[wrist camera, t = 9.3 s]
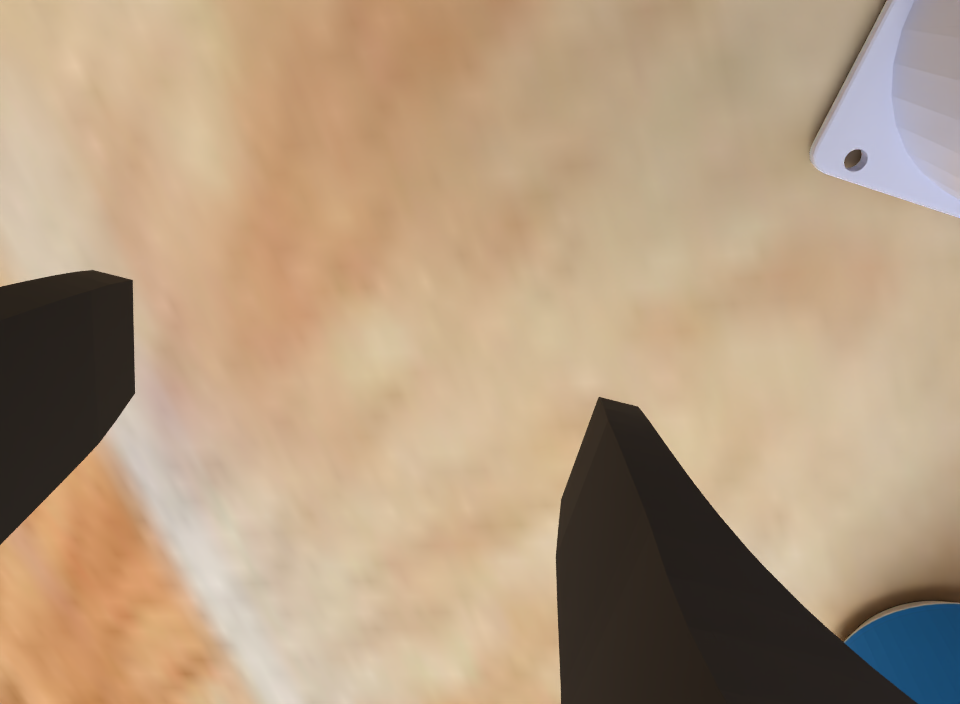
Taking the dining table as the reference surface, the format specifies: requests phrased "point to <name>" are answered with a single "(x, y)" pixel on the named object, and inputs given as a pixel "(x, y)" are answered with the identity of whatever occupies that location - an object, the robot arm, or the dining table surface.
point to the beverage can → (915, 649)
